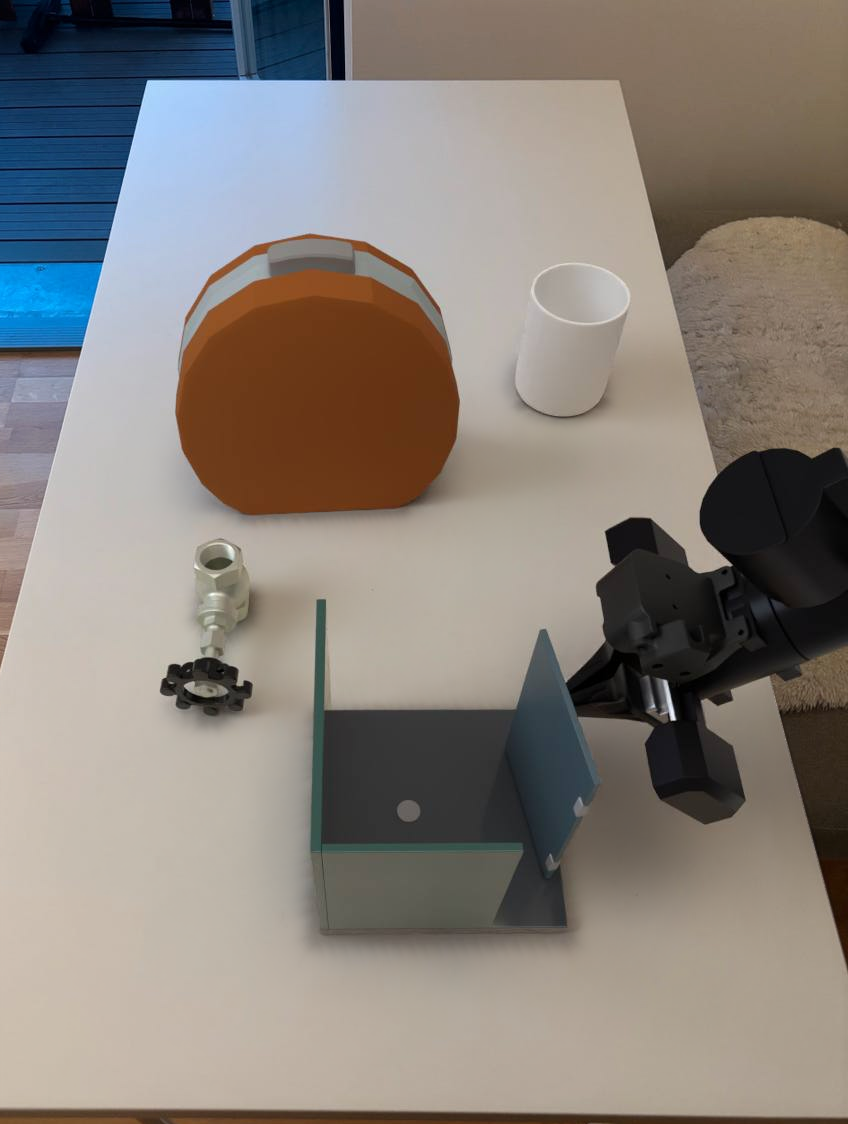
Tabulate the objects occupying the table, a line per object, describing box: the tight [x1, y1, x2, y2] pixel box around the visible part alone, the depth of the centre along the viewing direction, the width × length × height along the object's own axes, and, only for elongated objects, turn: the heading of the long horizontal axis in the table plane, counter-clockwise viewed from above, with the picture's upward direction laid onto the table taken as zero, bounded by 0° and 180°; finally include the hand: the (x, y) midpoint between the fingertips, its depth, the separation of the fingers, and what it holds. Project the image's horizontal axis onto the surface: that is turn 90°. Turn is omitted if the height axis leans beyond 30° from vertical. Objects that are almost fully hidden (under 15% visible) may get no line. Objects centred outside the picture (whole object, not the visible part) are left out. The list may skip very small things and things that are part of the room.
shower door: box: [505, 628, 602, 879], centre depth 57 cm, size 2×10×15 cm, turn 11°
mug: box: [514, 262, 632, 417], centre depth 84 cm, size 9×12×11 cm
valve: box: [159, 537, 254, 717], centre depth 69 cm, size 7×7×12 cm
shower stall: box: [309, 598, 569, 935], centre depth 58 cm, size 16×16×15 cm
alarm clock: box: [174, 233, 461, 516], centre depth 72 cm, size 22×10×23 cm, turn 94°
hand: (552, 708), depth 59 cm, fingers closed, pressing on shower door
